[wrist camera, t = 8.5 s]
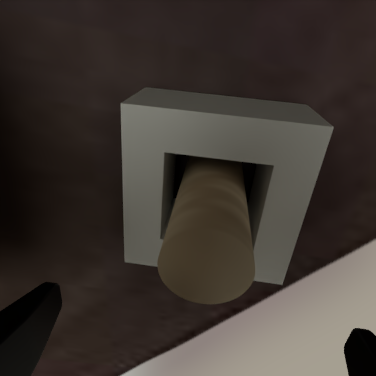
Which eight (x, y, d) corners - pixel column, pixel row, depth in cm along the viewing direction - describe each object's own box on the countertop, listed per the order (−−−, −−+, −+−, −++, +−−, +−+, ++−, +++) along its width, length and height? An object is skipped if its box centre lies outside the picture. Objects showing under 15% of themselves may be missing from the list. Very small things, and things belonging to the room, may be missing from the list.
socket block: (306, 104, 16) (333, 127, 12) (270, 235, 20) (282, 284, 16) (145, 87, 16) (120, 103, 12) (143, 218, 21) (124, 261, 17)
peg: (246, 145, 17) (264, 237, 9) (237, 196, 19) (245, 310, 11) (188, 139, 18) (159, 223, 10) (184, 189, 19) (155, 296, 11)
